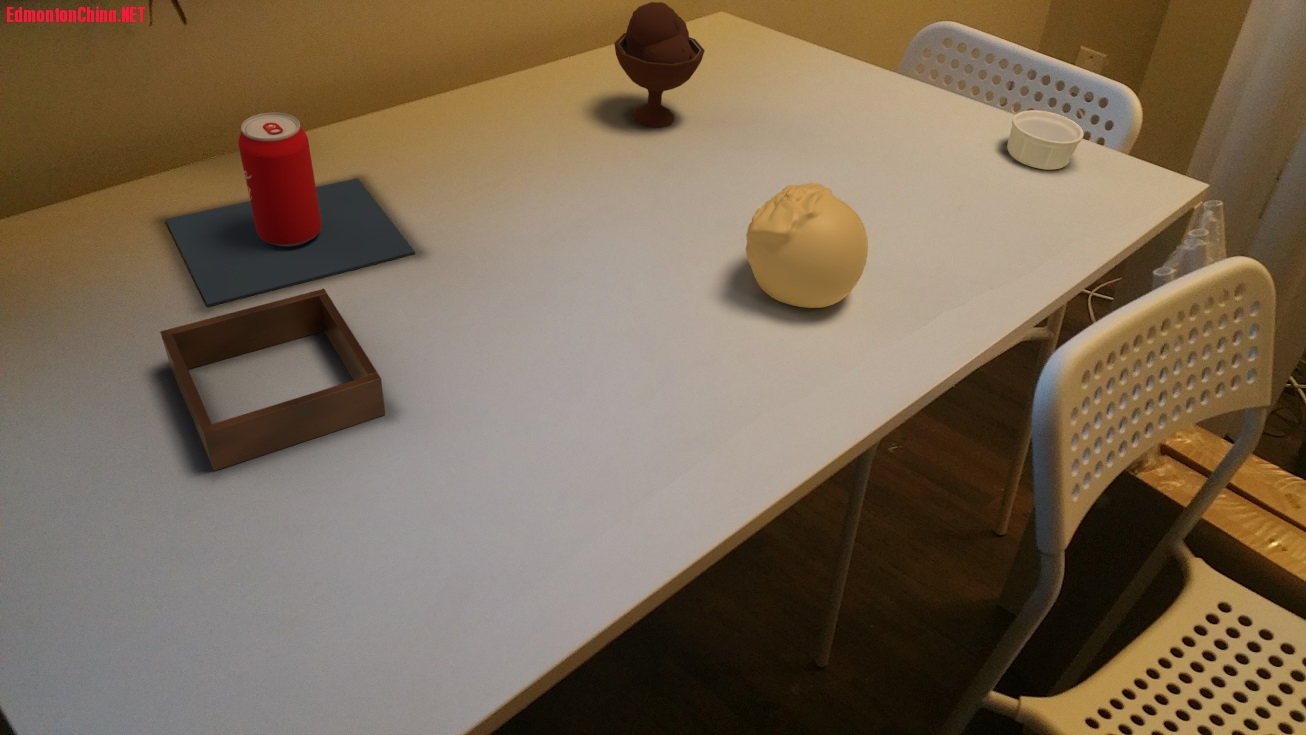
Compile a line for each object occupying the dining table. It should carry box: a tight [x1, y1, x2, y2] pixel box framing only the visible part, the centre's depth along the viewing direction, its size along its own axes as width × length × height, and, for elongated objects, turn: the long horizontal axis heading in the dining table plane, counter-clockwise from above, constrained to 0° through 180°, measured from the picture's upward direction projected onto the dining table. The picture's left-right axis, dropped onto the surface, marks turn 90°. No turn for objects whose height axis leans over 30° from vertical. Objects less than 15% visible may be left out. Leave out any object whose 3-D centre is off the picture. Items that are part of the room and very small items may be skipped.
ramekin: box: [1006, 109, 1085, 171], centre depth 127 cm, size 9×9×4 cm
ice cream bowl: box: [613, 1, 706, 128], centre depth 122 cm, size 11×11×15 cm
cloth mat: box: [165, 177, 416, 308], centre depth 99 cm, size 20×16×1 cm
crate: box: [160, 288, 386, 472], centre depth 81 cm, size 14×14×4 cm
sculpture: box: [745, 182, 869, 309], centre depth 97 cm, size 12×12×11 cm
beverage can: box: [237, 112, 322, 247], centre depth 95 cm, size 6×6×12 cm
